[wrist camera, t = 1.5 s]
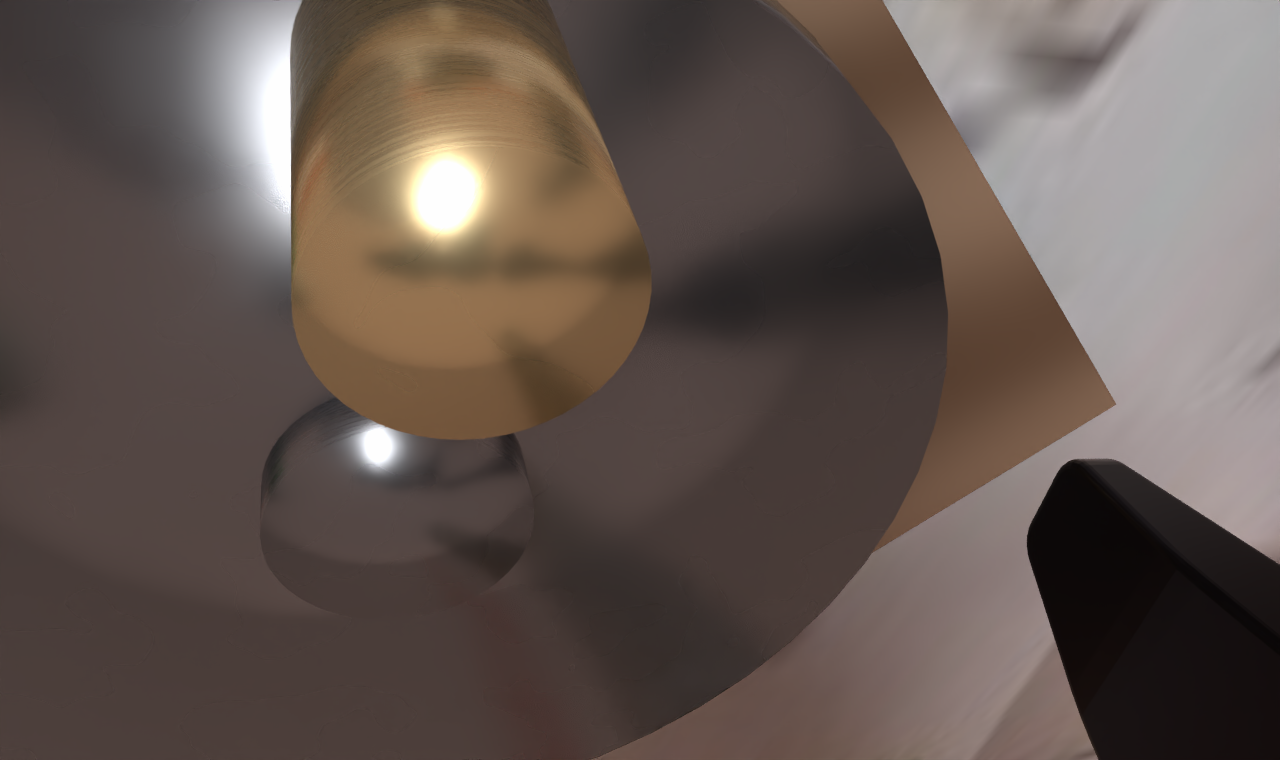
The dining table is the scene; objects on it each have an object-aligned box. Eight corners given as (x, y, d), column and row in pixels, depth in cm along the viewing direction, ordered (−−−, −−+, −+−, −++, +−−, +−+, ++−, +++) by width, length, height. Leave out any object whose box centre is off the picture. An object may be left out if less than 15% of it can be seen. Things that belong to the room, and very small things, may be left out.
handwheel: (769, 713, 28) (870, 1000, 23) (-123, 786, 23) (-232, 1171, 18) (1079, -72, 17) (1393, 160, 12) (-491, -260, 12) (-1011, 5, 7)
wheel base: (1046, 314, 26) (1118, 407, 24) (352, 755, 31) (358, 868, 29) (436, -710, 14) (467, -719, 12) (-572, 285, 19) (-695, 419, 16)
